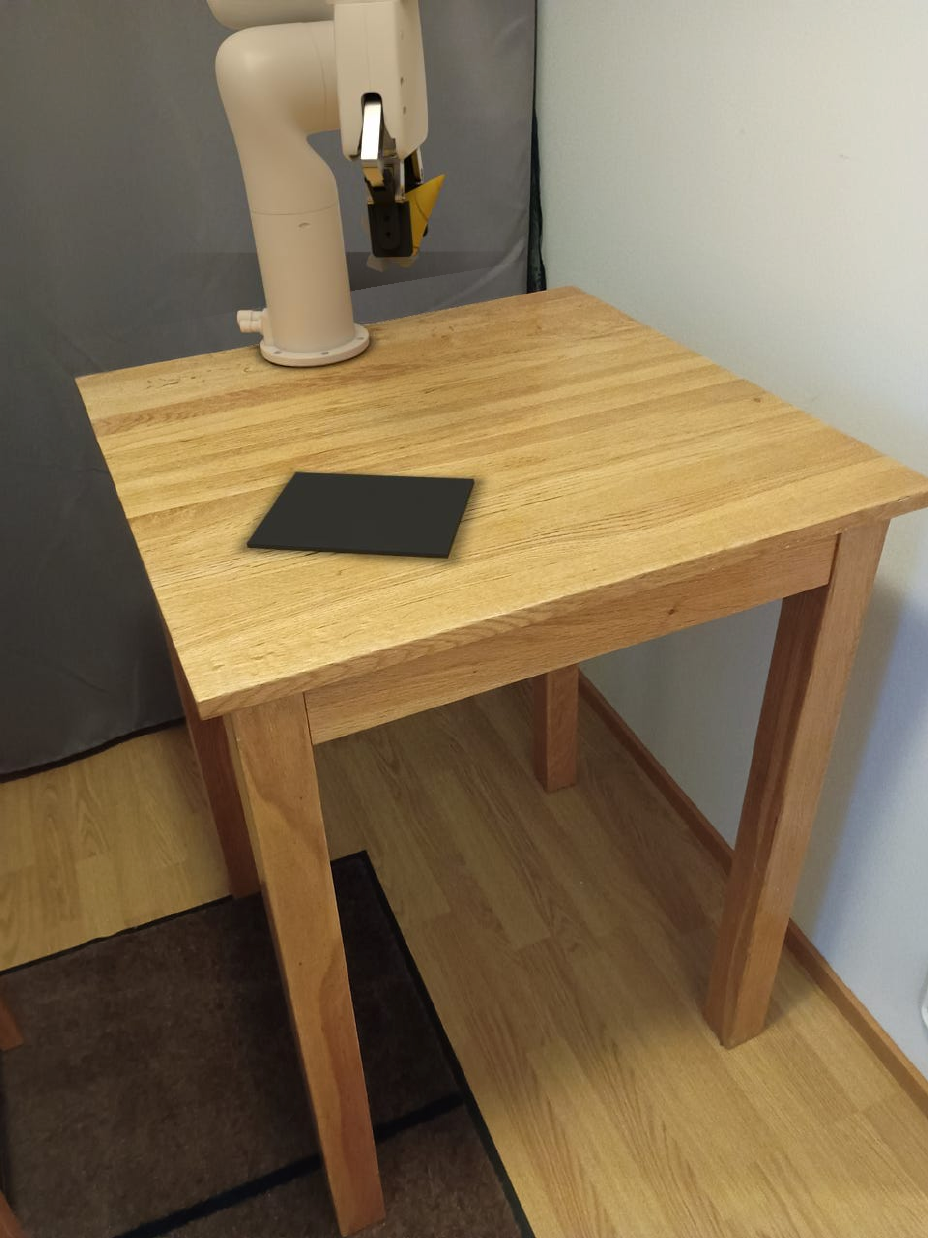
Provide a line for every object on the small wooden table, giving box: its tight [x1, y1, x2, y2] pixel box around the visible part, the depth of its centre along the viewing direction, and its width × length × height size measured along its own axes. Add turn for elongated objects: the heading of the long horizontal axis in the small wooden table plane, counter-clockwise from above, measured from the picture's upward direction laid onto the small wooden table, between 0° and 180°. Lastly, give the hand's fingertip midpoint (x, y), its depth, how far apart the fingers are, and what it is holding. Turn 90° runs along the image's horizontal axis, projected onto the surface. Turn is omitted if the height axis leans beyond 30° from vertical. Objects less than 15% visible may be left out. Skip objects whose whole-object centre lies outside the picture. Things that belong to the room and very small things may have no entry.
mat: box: [246, 471, 475, 559], centre depth 76 cm, size 16×12×1 cm
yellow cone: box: [360, 173, 446, 273], centre depth 74 cm, size 5×5×10 cm
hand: (401, 243), depth 75 cm, fingers closed on yellow cone, 5 cm apart
